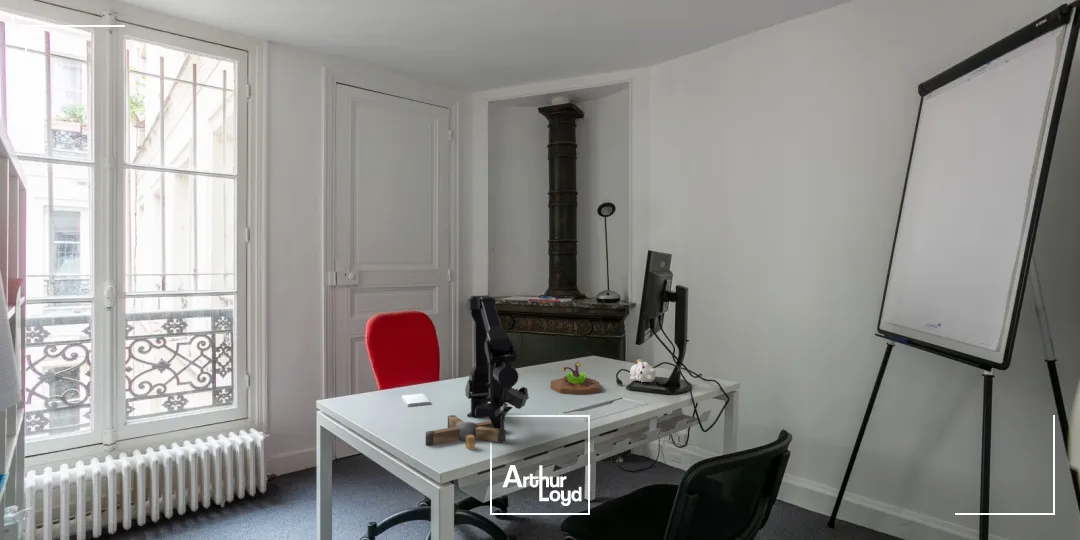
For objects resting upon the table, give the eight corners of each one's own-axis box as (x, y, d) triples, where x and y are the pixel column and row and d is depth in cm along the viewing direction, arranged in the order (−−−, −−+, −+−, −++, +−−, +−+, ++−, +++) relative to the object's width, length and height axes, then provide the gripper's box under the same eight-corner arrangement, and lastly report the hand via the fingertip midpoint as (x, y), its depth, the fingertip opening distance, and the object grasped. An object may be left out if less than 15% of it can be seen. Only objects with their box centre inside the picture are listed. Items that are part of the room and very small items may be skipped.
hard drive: (430, 401, 197) (423, 392, 208) (407, 403, 193) (401, 395, 205) (430, 406, 197) (423, 397, 208) (407, 408, 194) (401, 399, 205)
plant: (557, 396, 209) (557, 367, 208) (546, 384, 228) (546, 357, 227) (608, 394, 213) (608, 365, 213) (592, 382, 232) (592, 355, 232)
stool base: (411, 432, 166) (411, 420, 166) (486, 419, 179) (486, 408, 179) (438, 455, 148) (437, 442, 148) (518, 439, 160) (518, 427, 160)
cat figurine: (630, 356, 238) (651, 358, 224) (644, 364, 240) (665, 367, 227) (621, 376, 235) (642, 380, 221) (635, 385, 238) (657, 388, 224)
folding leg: (475, 439, 160) (475, 428, 160) (479, 436, 162) (479, 426, 162) (503, 442, 157) (503, 432, 157) (507, 439, 159) (507, 429, 159)
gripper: (510, 389, 149) (510, 446, 150) (536, 375, 167) (536, 426, 167) (474, 385, 153) (474, 441, 154) (502, 372, 171) (502, 422, 171)
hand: (498, 432), depth 161 cm, fingers closed
